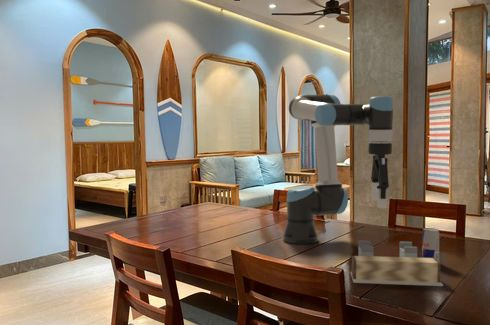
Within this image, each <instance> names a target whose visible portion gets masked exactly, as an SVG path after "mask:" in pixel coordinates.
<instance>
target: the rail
mask: <svg viewBox="0 0 490 325" xmlns="http://www.w3.org/2000/svg"><path fill="white" fill-rule="evenodd" d="M351 272H352V276H353V279H362V280H389V281H415V282H441V262H440V260H439V261H438V260H437V259H436V258H422V257H417V258H413V257H400V256H375V255H373V256H358V255H351ZM352 276H351V277H352ZM353 279H352V280H353Z"/></svg>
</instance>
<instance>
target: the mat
mask: <svg viewBox="0 0 490 325" xmlns="http://www.w3.org/2000/svg"><path fill="white" fill-rule="evenodd" d="M350 277H351V278H352V279H351V280H352V282H353V283H355V284H375V285H376V284H379V285H400V286H401V285H405V286H427V287H428V286H429V287H430V286H431V287H432V286H433V287H444V284H443V283H442V282H441V281H440V282H415V281H389V280H362V279H353V276H352V271H350Z"/></svg>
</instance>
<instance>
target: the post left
mask: <svg viewBox="0 0 490 325" xmlns="http://www.w3.org/2000/svg"><path fill="white" fill-rule="evenodd" d="M357 249H358V255H357V256H374V255H375V254H374V251H375V250H374V249H375V247H374V245H371V240H358V248H357Z"/></svg>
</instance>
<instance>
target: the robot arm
mask: <svg viewBox="0 0 490 325" xmlns="http://www.w3.org/2000/svg"><path fill="white" fill-rule="evenodd" d="M393 101H394V100H393V98H392V96H387V95H386V96H385V95H384V96H383V95H381V96H371V97H370V98H369V101H368V102H369V103H361V104H360V103H341V100H340V99H339V98H338V97H337V96H336V95H334V94H328V93H327V94H326V93H325V94H300V95H298V96H294V97H293V98H292V99H291V100H290V102H289V105H288V113H289V115H290V116H291V117H292V118H294V119H296V120H299V121H309V122H311V123H310V124H311V127H312V128H314V130H315V131H314V132H315V134H314V135H315V148H316V150H315V151H316V162H317V164H316V167H317V180H318V181H317V183H315V185H314V186H315V188H314V186H312V185H302V186H301V185H300V186H295V187H291V188H289V189H288V190H287V192H286V225H285V228H284V232H283V235H282V240H283V241H284V242H286V243H288V244H294V245H310V244H315V243H317V242H318V241H319V234H318V231H317V228H316V226H315V221H314V220H315V216H334V215H341V214H343V213H344V212H345V211H346V209H347V207H348V203H349V194H348V190H347V189H346V188H345V187H343V183H341V182H340V180H339V178H338V177H339V175H338V163H337V162H338V161H337V148H336V147H337V146H336V133H335V127H336V126H368V128H369V129H368V142H369V143H368V151H367V152H368V154H369V155H373V156H372V167H371V177H370V179H371V201H372V202H373V201H374V202H377V208H378V209H384V210H385V209H386V210H387V208H388V188H390V185H389V184H390V183H389V171H388V158H387V157H386V155H387V156H388V155H391V154H392V153H393V149H392V148H393V144H392V143H391V142H392V141H393V136H394V132H393V123H394V122H393V117H394V105H393V104H394V103H393Z"/></svg>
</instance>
